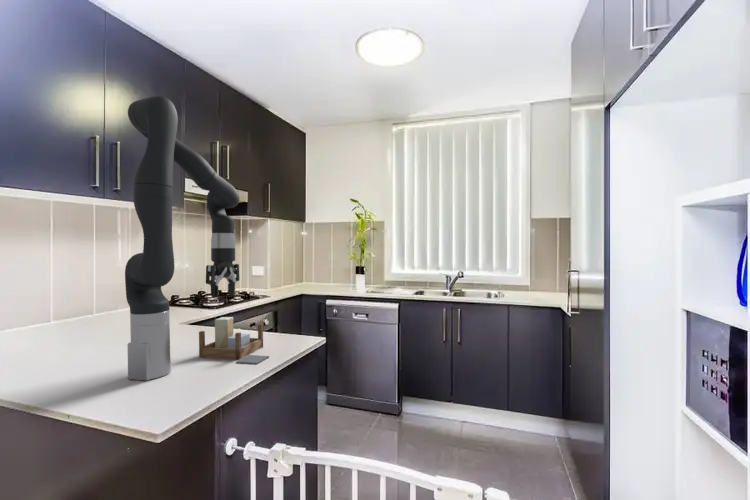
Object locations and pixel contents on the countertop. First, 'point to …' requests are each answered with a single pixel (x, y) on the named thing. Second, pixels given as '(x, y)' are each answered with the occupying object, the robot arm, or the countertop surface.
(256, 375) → the countertop surface
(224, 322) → the box
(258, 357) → the mat
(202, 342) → the frame
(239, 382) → the countertop surface
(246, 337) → the offcut top
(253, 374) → the countertop surface
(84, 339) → the countertop surface
